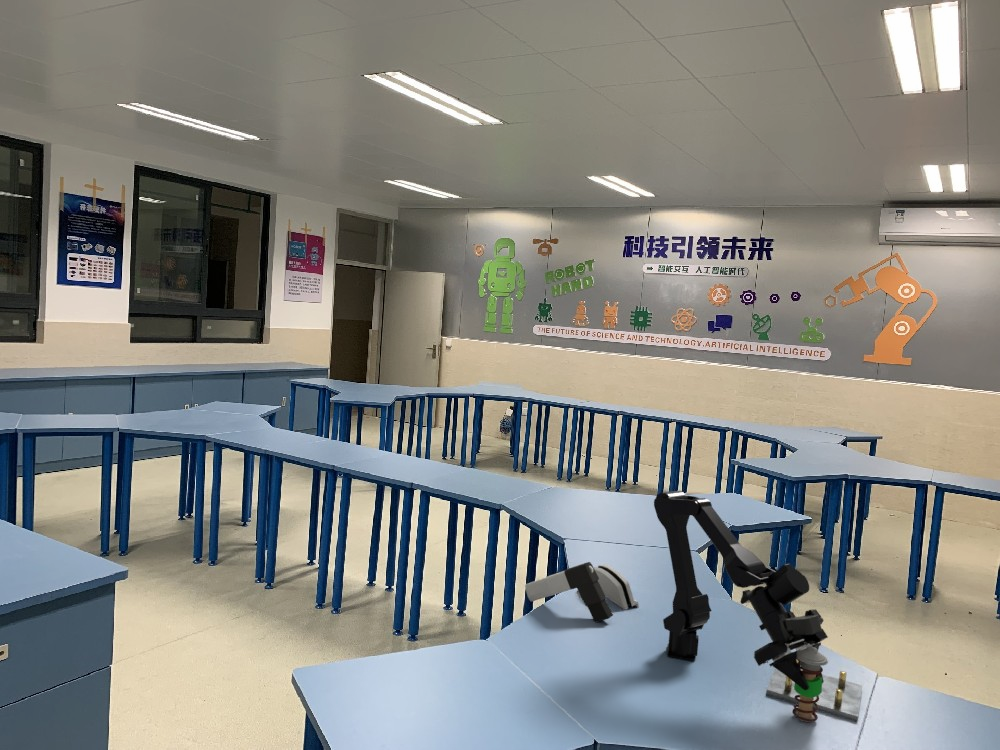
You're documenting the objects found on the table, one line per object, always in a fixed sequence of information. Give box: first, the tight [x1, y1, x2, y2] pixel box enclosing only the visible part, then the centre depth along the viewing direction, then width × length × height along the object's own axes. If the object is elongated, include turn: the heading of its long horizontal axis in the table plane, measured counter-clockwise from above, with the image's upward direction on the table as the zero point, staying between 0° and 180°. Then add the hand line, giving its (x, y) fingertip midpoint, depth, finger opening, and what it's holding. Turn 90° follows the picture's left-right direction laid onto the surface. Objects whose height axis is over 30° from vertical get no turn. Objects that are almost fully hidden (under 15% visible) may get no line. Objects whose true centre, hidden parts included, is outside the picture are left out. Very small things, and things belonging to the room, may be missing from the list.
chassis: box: [765, 660, 863, 723], centre depth 162 cm, size 18×16×4 cm
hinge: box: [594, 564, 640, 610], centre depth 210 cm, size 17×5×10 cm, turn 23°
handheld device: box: [524, 561, 614, 623], centre depth 198 cm, size 4×22×15 cm, turn 56°
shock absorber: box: [792, 646, 829, 723], centre depth 150 cm, size 6×6×15 cm
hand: (814, 686), depth 149 cm, fingers closed on shock absorber, 5 cm apart
